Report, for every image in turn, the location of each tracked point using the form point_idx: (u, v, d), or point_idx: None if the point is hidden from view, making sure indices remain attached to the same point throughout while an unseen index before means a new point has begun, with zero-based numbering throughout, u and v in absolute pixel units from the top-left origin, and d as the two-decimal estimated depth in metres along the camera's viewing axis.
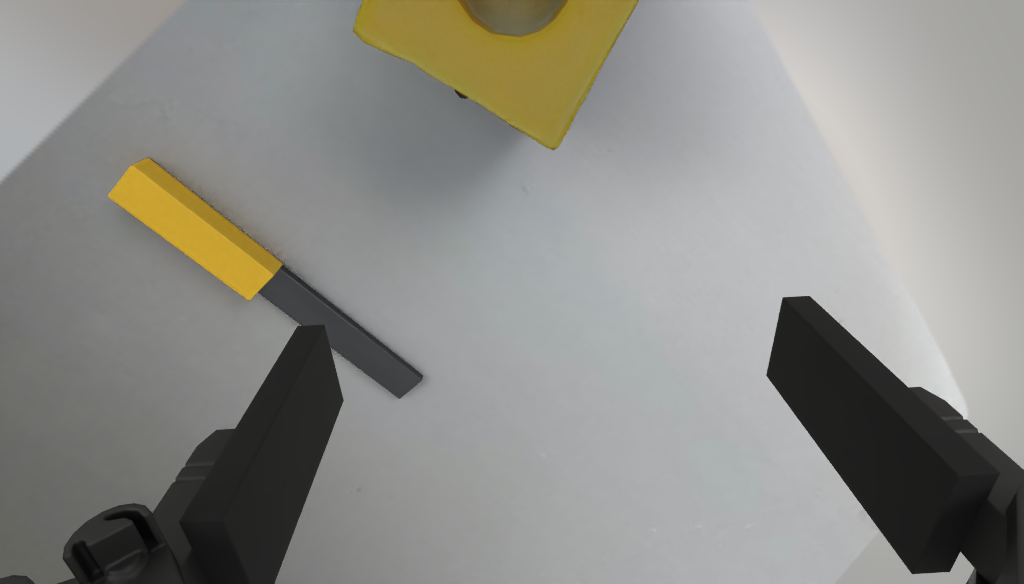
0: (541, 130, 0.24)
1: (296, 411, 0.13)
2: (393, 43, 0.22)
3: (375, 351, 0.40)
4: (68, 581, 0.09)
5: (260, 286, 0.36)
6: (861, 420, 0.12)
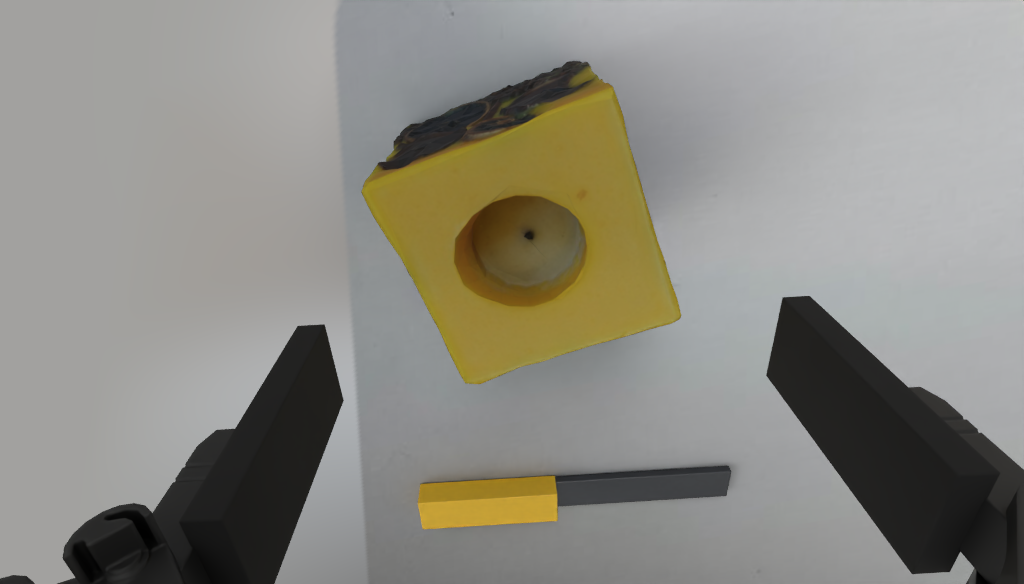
0: (655, 317, 0.22)
1: (296, 411, 0.13)
2: (497, 368, 0.23)
3: (674, 479, 0.40)
4: (69, 580, 0.09)
5: (555, 507, 0.39)
6: (861, 420, 0.12)
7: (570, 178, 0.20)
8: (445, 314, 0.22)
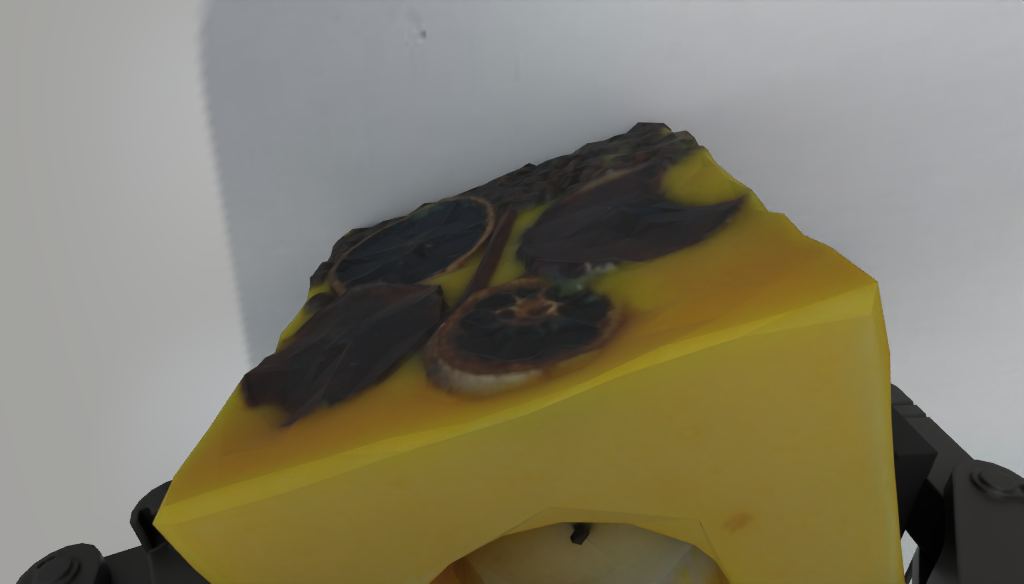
0: None
1: None
2: None
3: None
4: (128, 550, 0.10)
5: None
6: None
7: (713, 491, 0.07)
8: None
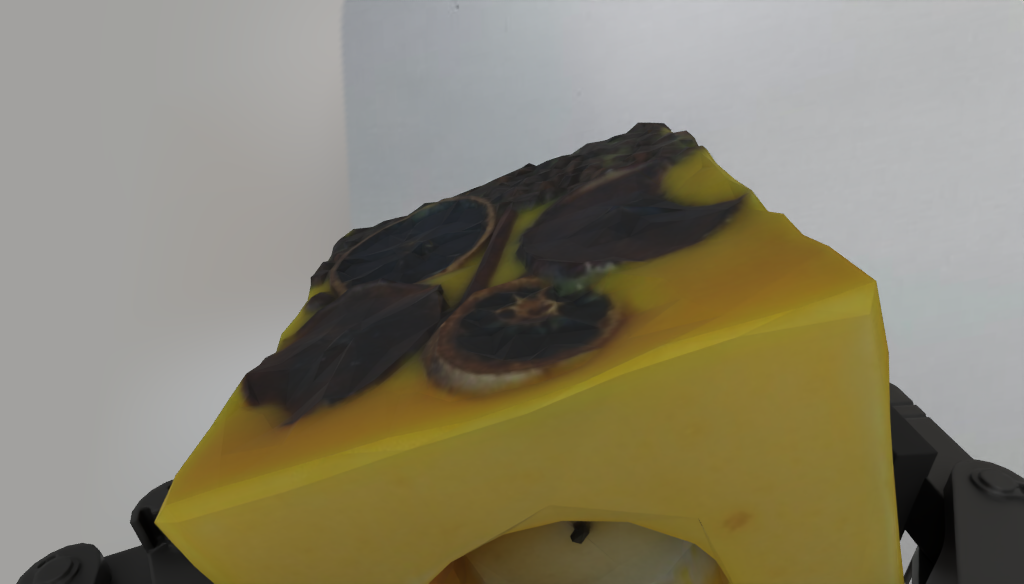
0: None
1: None
2: None
3: None
4: (129, 549, 0.10)
5: None
6: None
7: (712, 490, 0.07)
8: None
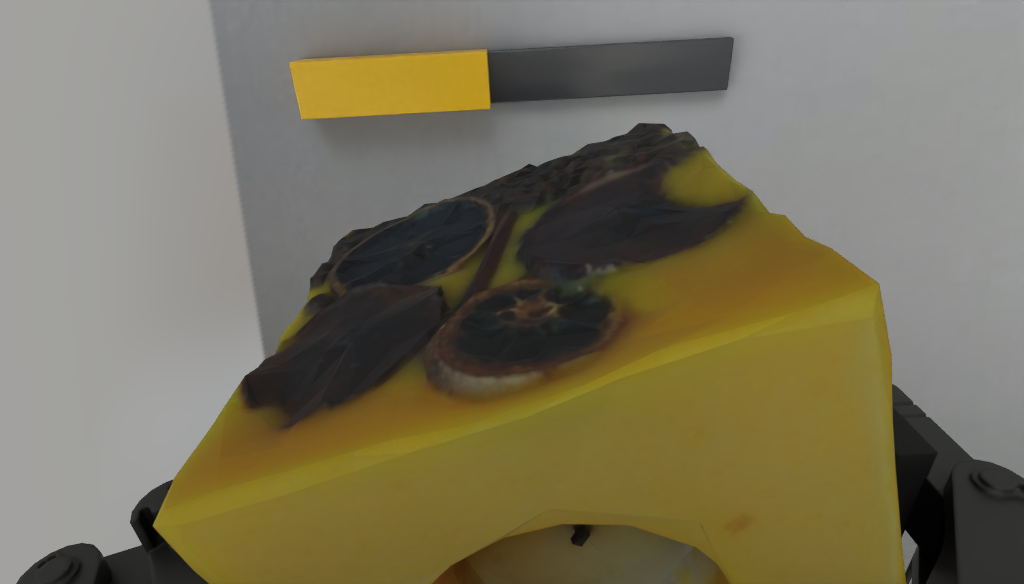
0: None
1: None
2: None
3: (654, 52, 0.29)
4: (129, 550, 0.10)
5: (486, 79, 0.28)
6: None
7: (713, 494, 0.07)
8: None
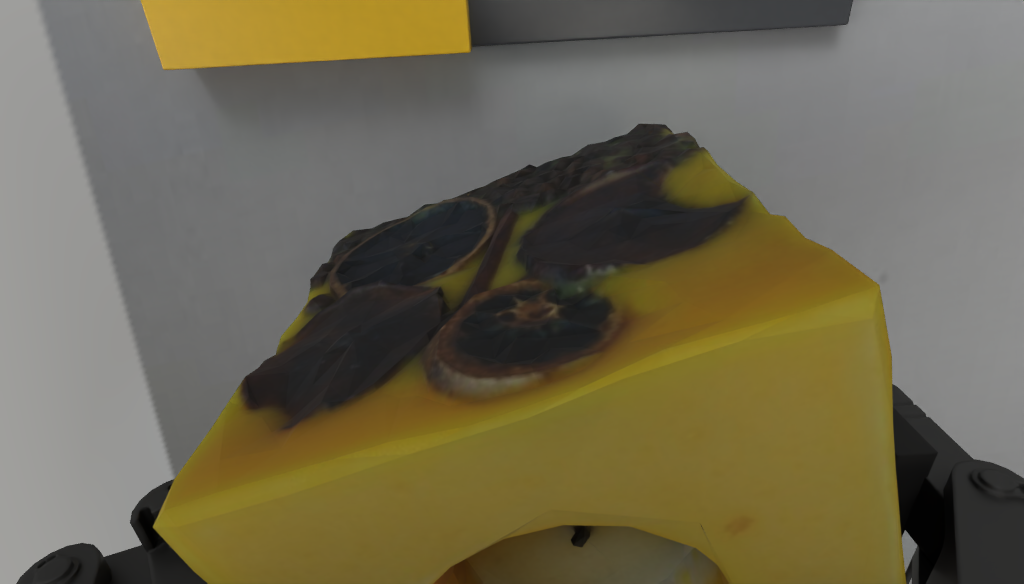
0: None
1: None
2: None
3: None
4: (129, 549, 0.10)
5: (462, 0, 0.17)
6: None
7: (714, 496, 0.07)
8: None
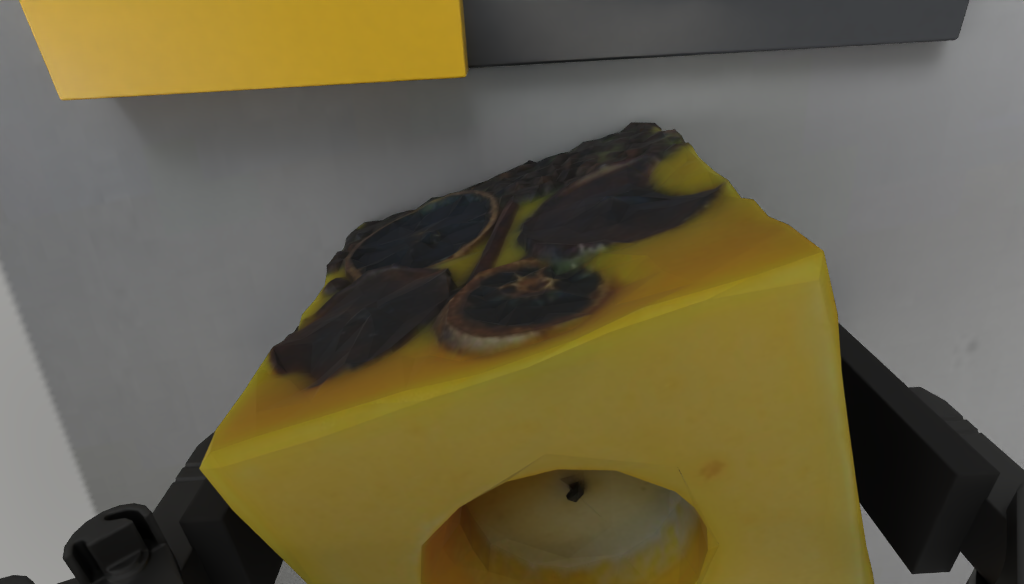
0: None
1: None
2: None
3: None
4: (69, 580, 0.09)
5: (455, 9, 0.13)
6: (861, 420, 0.12)
7: (689, 440, 0.08)
8: None
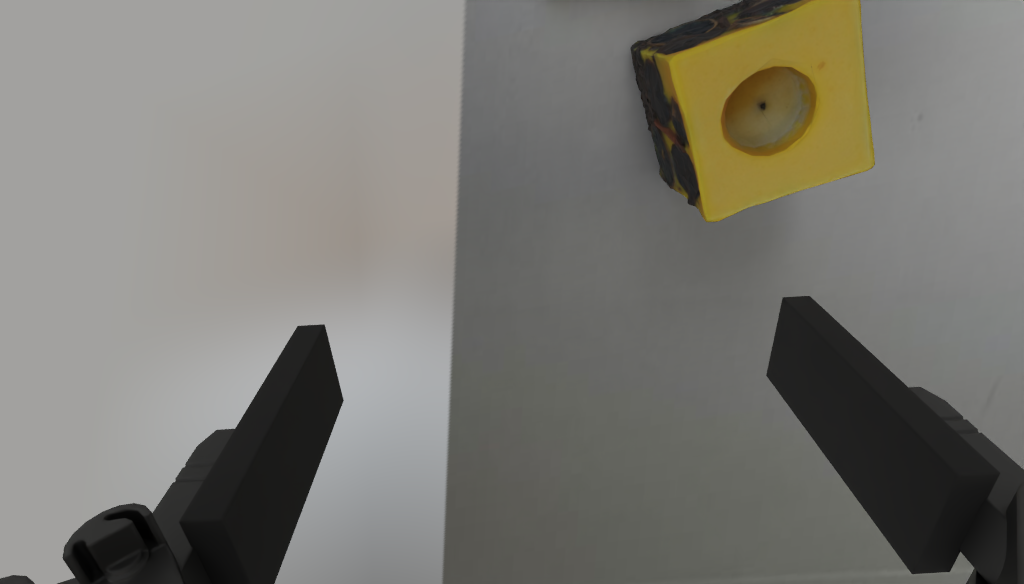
0: (856, 165, 0.31)
1: (296, 411, 0.13)
2: (733, 207, 0.32)
3: None
4: (68, 580, 0.09)
5: None
6: (861, 420, 0.12)
7: (815, 52, 0.28)
8: (705, 161, 0.30)
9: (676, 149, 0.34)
